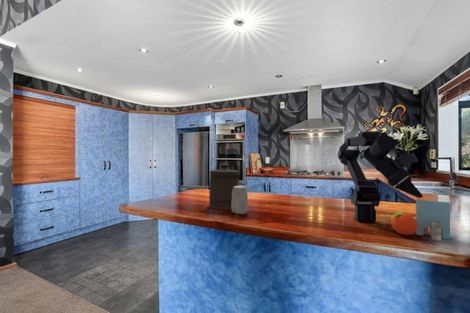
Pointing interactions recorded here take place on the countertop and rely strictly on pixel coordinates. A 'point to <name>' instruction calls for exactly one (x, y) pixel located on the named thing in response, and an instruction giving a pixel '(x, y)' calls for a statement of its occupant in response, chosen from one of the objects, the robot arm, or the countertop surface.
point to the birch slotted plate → (435, 231)
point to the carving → (239, 199)
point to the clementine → (404, 223)
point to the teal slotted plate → (433, 216)
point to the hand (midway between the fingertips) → (420, 195)
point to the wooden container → (222, 187)
